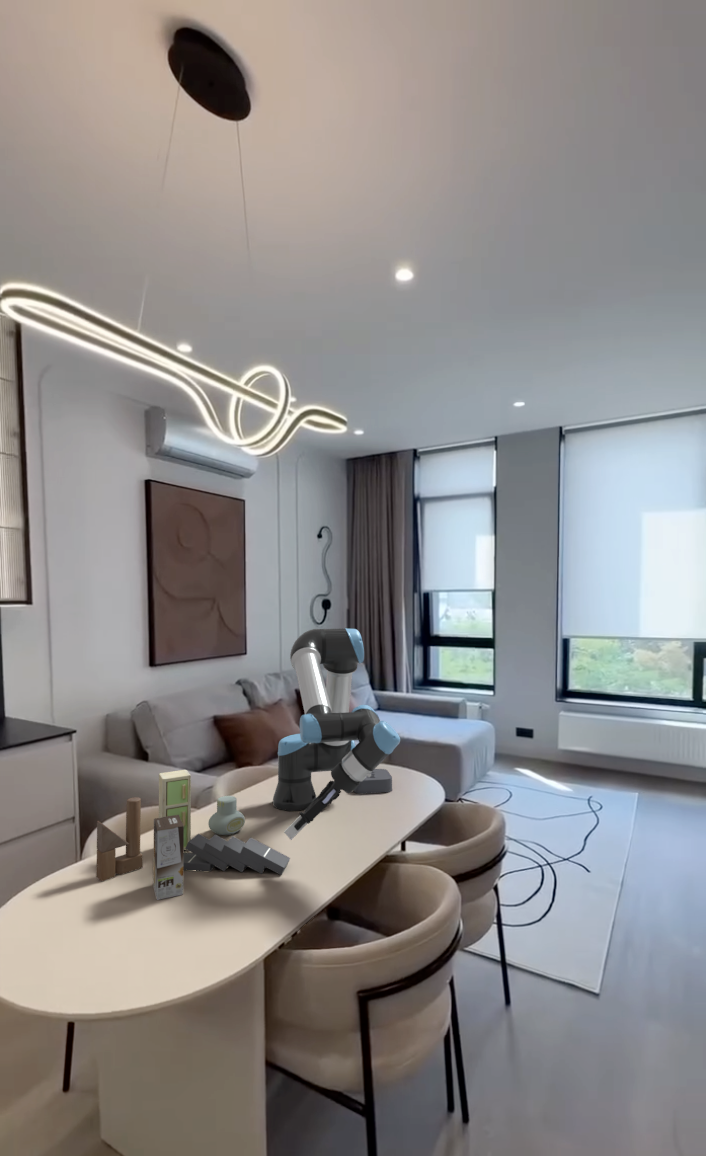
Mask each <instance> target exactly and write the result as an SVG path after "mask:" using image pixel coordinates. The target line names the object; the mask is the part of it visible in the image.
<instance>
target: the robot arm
mask: <svg viewBox="0 0 706 1156" xmlns="http://www.w3.org/2000/svg"><path fill="white" fill-rule="evenodd" d="M289 657H290V658H289V659H290V665H291V667H292V669H293V670H295V672H296V679H297V682H298V686H299V687H298V688H299V692H300V697H301V703H302V706H303V707H302V708H303V710H304V711H303V712H304V714H302V715H301V716H300V718H299V733H295V734H291V735H288V736H285V737H283V738H281V739H280V740H279V741H278V747H277V748H278V749H277V757H278V758H277V761H278V763H277V765H278V766H277V774H278V775H277V784H276V787H275V791H274V794H273V799H272V801H273V802H272V804H273V807H274V808H276V809H278V810H282V811H288V812H289V811H292V812H293V811H295V812H296V811H300V812H299V814H298V815H299V816H298V817H297V818H296V819H295V820H294V821H293V822H292V823H291V824H290V825H289V826H288V827H286V829H285V830H284V832H283V833H284V834H285V835H286V836H287V838H289V840H290V841H292V840H293V839H294V838H295V837H296V836H297V835H298V834H299V833H300V832H301V831H302V830H303V829H304V828H305V827H306V826H307V824H310V823H311V822H313V821H314V820H315V818H316V817H317V816H318V815H319V814H320V813H322V812H323V810H325V809H326V807H328V806H330V805H331V804H332V802H333V801H335V800H336V799H338V798H339V796H340V795H341V793H342V791H343V792H345V793H346V794H347V793H348V794H351V793H353V792H354V789H355V788H356V787H357V786H358V785H359V784H360V782H362V781H363V780H364V779H365V778H366V776H368V777H370V776H371V774H370V773H371V772H372V771H373V770H374V769H377V768H378V766H379V765H380V764H382V763H383V762H384V760H385V759H386V758H387V757H389V755H391V754H392V753H393V752H394V750H395V749H396V748H397V746H398V745H400V742H401V737H400V735H399V733H398V732H397V731H396V730H395V728H394V727H393V726H392V725H391V724H389V723H388V722H386V721H385V720H381V719H380V717H379V715H378V714H377V712H376V711H375V709H373V707H372V706H370V705H367V704H359V705H358V706H356V707H354V708H353V709H352V710H351V711H350V701H351V691H352V690H351V689H352V680H353V679H352V678H353V673H355V672H356V671H357V669H358V664H362V663H364V660H365V649H364V643H363V638H362V635H361V633H360V631H359V630H358V629H356V628H346V627H344V628H313V629H309V630H306V631H305V632H303V633H302V634H301V635H300V636H299V637H298V638H297V639H296V640H295V641H294V642H293V645H292V647H291V649H290V655H289ZM321 665H322V667H323V669H324V670H325V671H326V683H325V679H324V675H323V672H322V668H321ZM355 741H358V743H357V744H355ZM321 772H330V776H331V778H332V780H330V781H329V782H327V784H326V786H325V787H324V788H322V790H321V792H320V793H319V794H318V795H316V791H315V789H314V785H313V782H312V773H321ZM302 810H303V811H302Z"/></svg>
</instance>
